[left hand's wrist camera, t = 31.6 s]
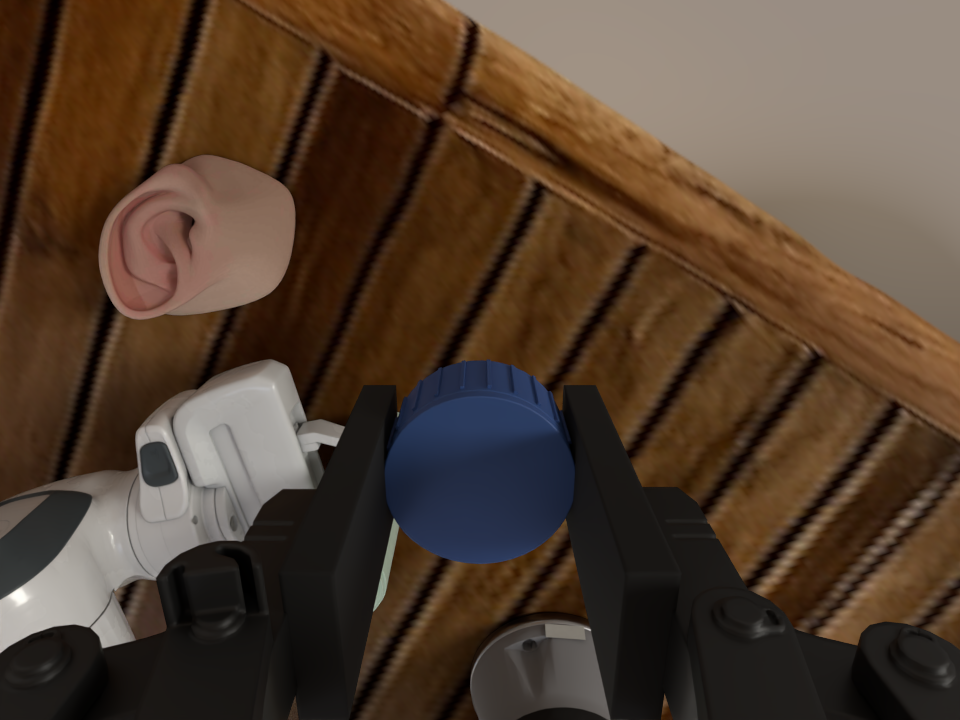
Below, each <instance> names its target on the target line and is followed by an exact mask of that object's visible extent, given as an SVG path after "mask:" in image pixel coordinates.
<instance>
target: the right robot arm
mask: <svg viewBox="0 0 960 720" xmlns="http://www.w3.org/2000/svg"><path fill="white" fill-rule="evenodd" d="M344 428H345V427H344V426H341V425H338V424H335V423H332V422H328V421H325V420H322V419H319V420H314V421H309V422H307V419H306V416H305V413H304V410H303V408H302V405H301V402H300V399H299V396H298V393H297V390H296V387H295V384H294V381H293V379H292V376H291V373H290V370H289V368H288V367H287V366H286V365H284V364H282V363H280V362H277V361H275V360H272V359H267V360H262V361H258V362H254V363H250V364H247V365H243V366H240V367H237V368H234V369H231V370H228V371H226V372H223V373H220V374H218V375H216V376H214V377H212V378H211V379H209V380H208V381H207V382H206V383H205V384H204V385H202V386H201V387H200V388H199V389H198V390H187V391H183V392H181V393H179V394H177V395H175V396H173V397H172V398H170V399H169V400H167V401H166V402H165V403H163V404H162V405H161V406H160V407H158V408H157V409H156V410H155V411H154V412H153V413H152V414H151V415H150V416H149V417H148V418H147V419H146V420H145V421H144V422H143V424H142V425H141V426H140V427H139V429H138V430H137V432H136V435H135V443H136V452H137V461H138V468H136V469H133V470H130V471H118V470H104V471H99V472H93V473H88V474H84V475H79V476H75V477H71V478H67V479H63V480H60V481H56V482H53V483H49V484H46V485H43V486H40V487H37V488H34V489H31V490H28V491H25V492H23V493H20V494H18V495H15V496H13V497H10V498H8V499H5V500H3V501H1V502H0V653H1V652H2V651H4V650H5V649H6V648H7V647H8V646H10V645H12V644H14V643H16V642H18V641H19V640H21V639H23V638H25V637H27V636H29V635H30V634H33V633H36V632H39V631H42V630H45V629H48V628H51V627H54V626H63V625H73V624H76V625H80V626H85V627H90V628H91V629H92V630H93V631H94V632H95V633H96V634H97V635H98V636H99V638H100V641H101V645H102V648H106V647H110V646H114V645H118V644H122V643H126V642H131V641H135V640H136V639H135V637H134V635H133V633H132V630H131V628H130V626H129V624H128V622H127V620H126V617H125V615H124V613H123V611H122V609H121V607H120V605H119V602H118V600H117V598H116V596H115V594H114V592H113V590H114V591H116V590H117V589H118V588H120V587H123V586H125V585H127V584H129V583H131V582H133V581H135V580H139V579H147V580H156V577H157V576H158V574H159V573H160V571H161V570H162V569H163V567H164V566H165V565H166V564H167V563H168V562H170V561H171V560H172V559H174V558H175V557H176V556H178V555H179V554H180V553H183V552H185V551H187V550H189V549H192V548H194V547H196V546H198V545H202V544H206V543H211V542H215V541H240V542H242V541H244V536H245V535H246V533H247V531H248V529H249V528H250V526H252V525H253V521H254V519H255V517H256V516H257V514H258V512H259V511H260V509H261V507H262V505H263V504H264V503H265V502H267V501H268V500H269V499H271V498H272V497H273V496H274V495H276V494H277V493H278V492H280V491H281V490H282V489H317V487H318V485H319V483H320V480H321V478H322V476H323V474H324V472H325V471H324V468H323V465H322V462H321V459H320V457H319V454H318V451H317V450H318V448H319V447H320V445H321V443H323V444H327V445H331V446H335V447H336V445H337V443H338V441H339V439H340V437H341V434H342V432H343V430H344Z"/></svg>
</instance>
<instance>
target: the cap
mask: <svg viewBox="0 0 960 720" xmlns="http://www.w3.org/2000/svg"><path fill="white" fill-rule="evenodd" d="M569 444H572V442H571V438H570V435H569V432H568V428H567V425H566V422H565V418H564V415H563V412H562V410H561V411H559V409H558V407H557V405H556V402H555V401H554V399H553V395H552V393H551V391H549V392H548V391H547V390H546V389H545V388H544V386H543V385H541V384H540V383H539V382H538V381H537V380H536V377H535V376H532V377H531V376H530V375H528V374H527V373H525V372H523V371H521V370H519V369H517V368H515V367H514V365H511V366H509V365H506V364H503V363H498V362H493V361H490V360H487V361H467V362H465V360H464V361H462V362H461V363H457V364H453V365H450V366H447V367H445V368H442V367H441V368H439V369H438V371H436V372H434V373H433V374H431V375H429V376H428V377H426V378H425V379H424V380H423V381H422V380H420V381H419V382H418V385H417V386H416V387H415V388H414V389H413V390H412V391H411V393H410V394H409V396H408V397H404V399H403V402H402V406H401V409H400V413H399V416H398V417H395V421H394V424H393V428H392V431H391V434H390V438H389V441H388V445H387V451H388V454H387V457H386V460H385V467H384V469H385V486H386V501H387V505H388V507H389V509H390V512H391V514H392V516H393V517H394V519H395V521H396V522H397V524H398V525H399V526H400V528H401V529H402V530H403V531H404V532H405V533H406V534H407V535H408V536H409V537H410V538H411V539H412V540H413V541H414V542H416V543H417V544H418V545H420V546H421V547H423V548H424V549H426V550H428V551H430V552H432V553H434V554H436V555H438V556H441V557H443V558H447V559H450V560H453V561H458V562H464V563H475V564H484V563H495V562H502V561H506V560H510V559H513V558H516V557H519V556H521V555H524V554H526V553H528V552H530V551H532V550H533V549H535V548H537V547H538V546H540V545H541V544H543V543H544V542H545V541H546V540H547V539H549V538H550V537H551V536H552V535H553V534H554V533H555V532H556V531H557V529H558V528H559V527H560V526H561V524H562V523H563V521H564V520H565V518H566V517H567V515H568V513H569V510H570V508H571V506H572V503H573V495H574V479H575V463H574V459H573V456H572V452H571V449H570V445H569Z"/></svg>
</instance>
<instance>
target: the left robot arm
mask: <svg viewBox="0 0 960 720" xmlns="http://www.w3.org/2000/svg"><path fill="white" fill-rule="evenodd" d="M562 412H563V415H564V418H565V422H566V425H567V428H568V432H569V435H570V438H571V442H572V444H569V445H570V449H571V452H572V456H573V459H574V463H575V479H574V495H573V503H572V506H571V508H570V510H569V513H568V515H567V517H566V521H567V526H568V530H569V535H570V539H571V544H572V548H573V553H574V557H575V562H576V566H577V571H578V575H579V580H580V584H581V589H582V593H583V598H584V602H585V607H586V611H587V616H588V619H585V618H582V617H579V616H575V615H571V614H564V613H540V614H533V615H529V616H525V617H521V618H518V619H516V620H513V621H511V622H509V623H507V624H505V625H503V626H501V627H500V628H498V629H497V630H495V631H494V632H493V633H492V634H490V635H489V636H488V637H487V638H486V639H485V640H484V642H483V643H482V644H481V645H480V647H479V648H478V650H477V652H476V654H475V656H474V659H473V662H472V666H471V683H470V684H471V695H472V701H473V705H474V709H475V711H476V713H477V715H478V718H479V720H661V714H662V707H663V700H664V693H665V696H666V699H667V702H668V705H669V708H670V711H671V714H672V717H673V720H960V650H959V649H958V648H956V647H955V646H954V645H953V644H951V643H950V642H948V641H946V640H944V639H942V638H940V637H938V636H937V635H935V634H933V633H931V632H929V631H926V630H923V629H920V628H917V627H914V626H911V625H908V624H902V623H893V622H882V623H877V624H872V625H869V626H868V627H867V628H866V629H865V630H864V631H863V632H862V633H861V636H860V639H859V643H858V646H857V645H852V644H848V643H844V642H840V641H836V640H831V639H827V638H823V637H819V636H815V635H811V634H808V633H805V632H802V631H799V630H796V629H794V628H793V626H792V624H791V623H790V621H789V620H788V618H787V616H786V615H785V613H784V612H783V611H782V610H780V609H779V608H778V607H777V606H776V605H774V604H773V603H772V602H771V601H770V600H768V599H766V598H764V597H762V596H760V595H758V594H756V593H754V592H752V591H748V589H747V588H746V586H745V584H744V582H743V581H742V579H741V577H740V576H739V574H738V572H737V570H736V569H735V567H734V565H733V564H732V562H731V560H730V558H729V557H728V555H727V553H726V552H725V550H724V548H723V546H722V545H721V543H720V541H719V540H718V539H716V534H715V533H714V531H713V529H712V528H711V526H710V524H707V519H706V517H705V516H704V514H703V512H702V511H701V509H700V507H699V505H698V504H697V502H696V501H694V500H693V499H692V498H690V497H689V496H688V495H687V494H685V493H684V492H683V491H681V490H680V489H679V488H678V487H642V486H641V484H640V481H639V479H638V477H637V475H636V473H635V470H634V468H633V466H632V464H631V462H630V459H629V457H628V455H627V453H626V451H625V448H624V446H623V444H622V442H621V440H620V438H619V435H618V433H617V431H616V429H615V427H614V424H613V422H612V420H611V418H610V416H609V413H608V411H607V409H606V407H605V405H604V402H603V400H602V398H601V396H600V394H599V391H598V389H597V387H596V385H564V389H563V408H562ZM395 417H398V416H397V397H396V385H364V386H363V388H362V391H361V393H360V395H359V397H358V399H357V402H356V404H355V406H354V408H353V410H352V413H351V415H350V417H349V419H348V421H347V423H346V426H345V428H344V430H343V432H342V434H341V437H340V439H339V441H338V443H337V445H336V448H335V450H334V452H333V454H332V456H331V459H330V461H329V463H328V465H327V467H326V469H325V472H324V474H323V476H322V478H321V480H320V483H319V485H318V487H317V489H282V490H281V491H280V492H278V493H277V494H276V495H274V496H273V497H272V498H271V499H269V500H268V501H267V502H265V503H264V504H263V505H262V507H261V509H260V511H259V512H258V514H257V516H256V517H255V519H254V521H253V525H252V526H250V528H249V529H248V531H247V533H246V535H245V536H244V541H242V542H240V541H215V542H211V543H206V544H202V545H198V546H196V547H194V548H192V549H189V550H187V551H185V552H183V553H180V554H179V555H178V556H176V557H175V558H174V559H172V560H171V561H170V562H168V563H167V564H166V565H165V566H164V567H163V569H162V570H161V571H160V573H159V574H158V576H157V577H156V581H157V586H158V590H159V594H160V599H161V603H162V607H163V612H164V616H165V621H166V625H167V629H166V631H165V632H163V633H160V634H156V635H153V636H150V637H147V638H143V639H139V640H135V641H131V642H126V643H122V644H118V645H114V646H110V647H106V648H102V645H101V641H100V638H99V636H98V635H97V634H96V633H95V632H94V631H93V630H92V629H91V628H90V627H85V626H80V625H76V624H73V625H63V626H54V627H51V628H48V629H45V630H42V631H39V632H36V633H33V634H30V635H29V636H27V637H25V638H23V639H21V640H19V641H18V642H16V643H14V644H12V645H10V646H8V647H7V648H6V649H5V650H4V651H2V652H1V653H0V720H287V719H288V716H289V713H290V710H291V707H292V704H293V701H294V698H295V696H296V703H297V710H298V717H299V720H349V718H350V713H351V709H352V704H353V700H354V695H355V691H356V686H357V682H358V677H359V673H360V668H361V664H362V659H363V655H364V650H365V646H366V641H367V637H368V632H369V628H370V623H371V619H372V614H373V610H374V605H375V600H376V596H377V591H378V587H379V582H380V578H381V573H382V569H383V564H384V560H385V555H386V551H387V546H388V542H389V537H390V533H391V528H392V524H393V519H394V517H393V516H392V514H391V512H390V509H389V507H388V505H387V501H386V486H385V469H384V467H385V460H386V457H387V454H388V451H387V445H388V441H389V438H390V434H391V431H392V428H393V424H394V421H395Z"/></svg>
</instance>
